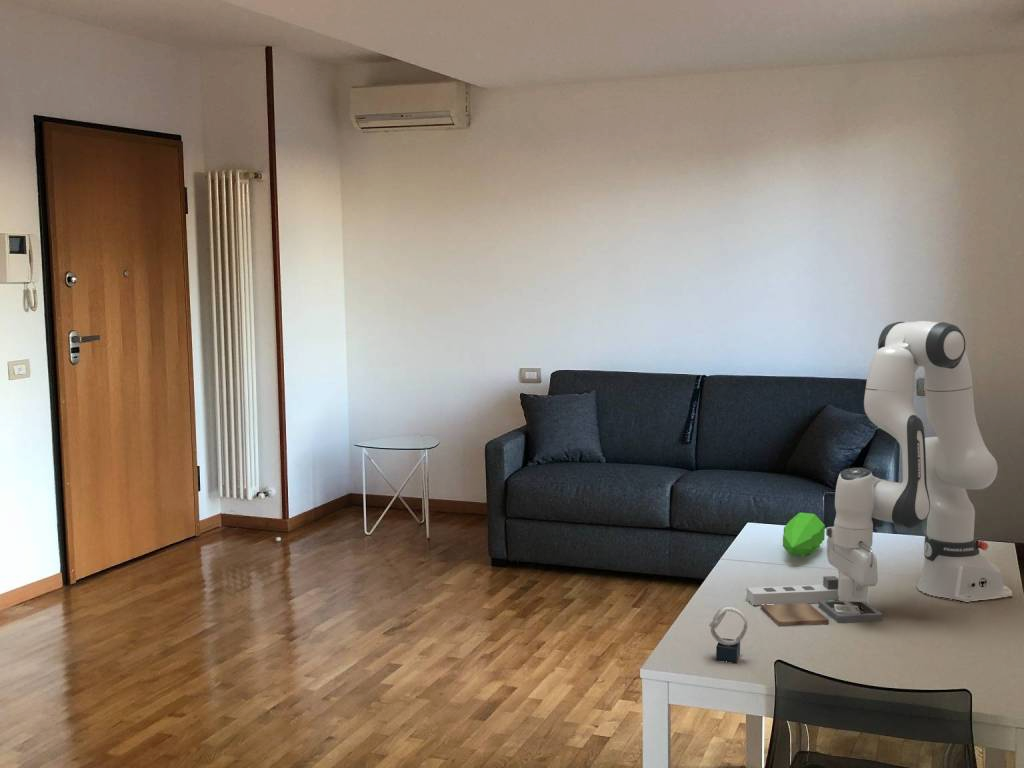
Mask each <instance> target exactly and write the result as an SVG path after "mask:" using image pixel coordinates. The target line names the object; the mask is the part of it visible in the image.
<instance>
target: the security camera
mask: <svg viewBox="0 0 1024 768" xmlns="http://www.w3.org/2000/svg"><path fill="white" fill-rule="evenodd" d="M837 575H838V577H837V578H838V596H839V600H840V602H842V601H843V602H844V603H845V604H846V605H839V604H834V608H833V609H834V610H835V611H836V612H837V613H839V614H840V615H848V614H861V612H860V609H859V608H860V607H858V606H855V605H852V604H851V602H865V603H868V593H869V586H865V587H864V589H863V591H862V597H861V598H857V599H856V598H854V597H853V590H854V587H855V584H854V580H853V579H851V578H850V577H849V576H847V575H846V574H845V573H843V572H842V571H840V570H839V574H837ZM850 601H851V602H850Z"/></svg>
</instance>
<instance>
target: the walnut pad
mask: <svg viewBox="0 0 1024 768" xmlns="http://www.w3.org/2000/svg"><path fill="white" fill-rule="evenodd" d="M761 609H762V610H763V611H764V612H763V611H762V612H763V613H764V614H765V615H767V617H769V618H770V619H771V620H772V621H773V622H774V623H775V624H776V625H777V626H778V627H788V626H790V627H791V626H807V625H808V626H810V625H812V626H813V625H829V621H830V620H829V618H827V617H826V616H825V615H823V614H822V613H821V612H820V611H819V610H818V609H816V608H815V607H814V606H812V605H811V603H797V604H774V605H761V606H760V610H761Z"/></svg>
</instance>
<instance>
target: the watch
mask: <svg viewBox="0 0 1024 768" xmlns="http://www.w3.org/2000/svg"><path fill="white" fill-rule="evenodd" d="M727 612H733V613H735V614H737V615H739V616H740V617H741V619H742V620H743V623H744V625H743V629H742V630H741V632H740V633H739V635H738V636H737V637H736V638H735V639H733V638H724V637H723V638H722V637H720V636H719V635H718V633H717V632H716V631H715V629H717V628H718V627H719V625H720V623H721V622H722V621H723V619H724V617H725V615H726V614H727ZM748 622H749V621H748V619H747V615H746V614H745V613H744V612H743V611H742V610H741V609H739V608H738V607H736V606H730V605H729V606H728V605H727V606H724V607H722V606H721V607H720V608H719V609H718V611H717V612H716V613H715V614H714V616H713V618H712V619H711V621H710V623H709V627H710V634H711V635H712V637H713V639H714V640H715V641H716V642H717V645H716V649H715V652H716V653H715V661H716V662H721V661H724V662H723V663H729V662H733V663H732V664H738V661H739V658H740V654H741V641H742V640H743V638H744V637H745V634H746V633H747V629H748V627H749V625H748ZM737 660H738V661H737ZM726 661H727V662H726Z"/></svg>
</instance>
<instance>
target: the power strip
mask: <svg viewBox="0 0 1024 768" xmlns="http://www.w3.org/2000/svg"><path fill="white" fill-rule="evenodd" d="M822 577H823V578H822V580H823V581H822V584H805V585H804V584H803V585H801V584H799V585H780V586H779V585H778V586H758V587H757V586H755V587H752V586H751V587H746V598H745V599H746V600H747V601H748V600H749V601H750V602H751V603H752V604H753V605H762V604H764V605H767V604H797V603H809V604H819V601H829V600H834V601H837V600H840V599H839V596H838V577H837V576H836V575H830V576H828V575H827V576H822ZM749 601H748V602H749ZM750 602H749V603H750ZM751 603H750V604H751ZM752 604H751V605H752ZM753 605H752V606H753Z"/></svg>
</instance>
